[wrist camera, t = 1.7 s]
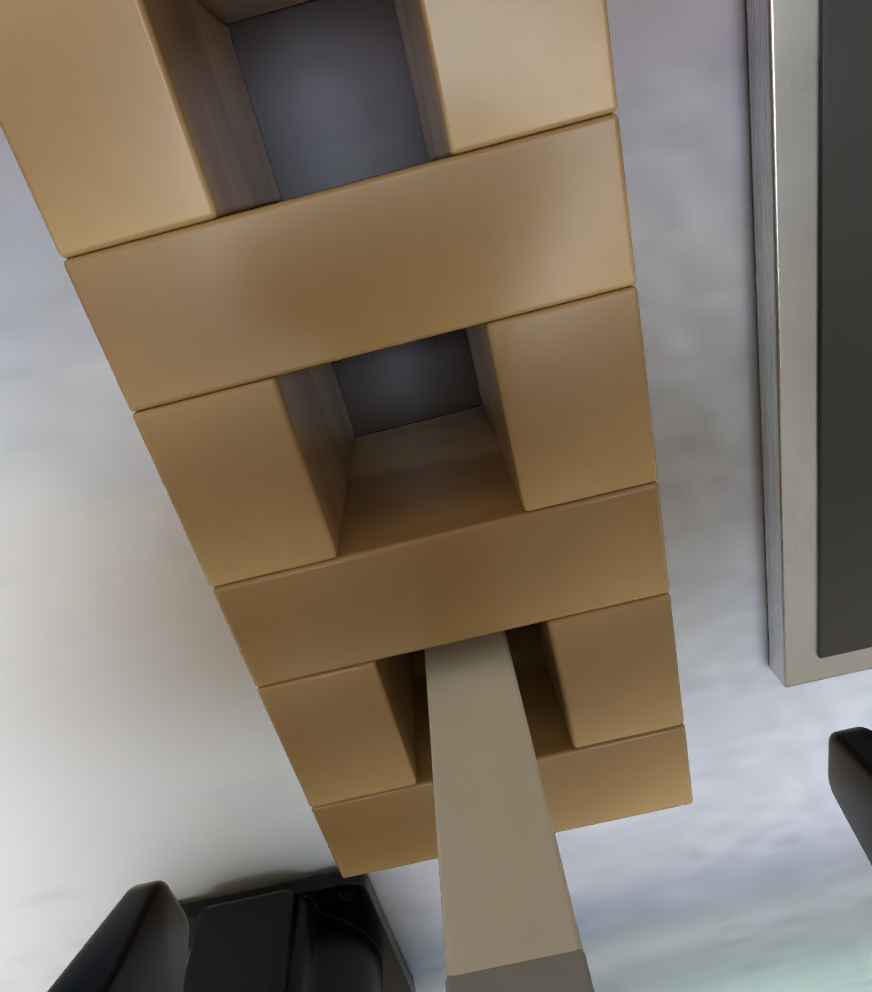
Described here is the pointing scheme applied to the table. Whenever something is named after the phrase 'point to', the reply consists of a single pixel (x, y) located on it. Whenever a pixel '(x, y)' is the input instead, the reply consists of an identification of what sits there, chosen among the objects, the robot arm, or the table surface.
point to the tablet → (814, 327)
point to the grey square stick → (495, 832)
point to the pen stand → (366, 328)
